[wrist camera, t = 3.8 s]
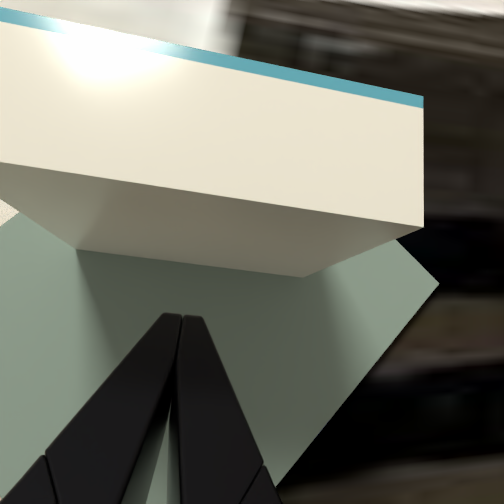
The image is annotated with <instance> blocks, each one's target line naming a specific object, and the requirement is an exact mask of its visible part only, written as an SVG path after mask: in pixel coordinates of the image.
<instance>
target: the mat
mask: <svg viewBox="0 0 504 504" xmlns="http://www.w3.org/2000/svg"><path fill="white" fill-rule="evenodd" d="M438 284H439V283H438V282H437V281H436V280H435V279H434V278H433V277H432V276H431V275H430V274H429V273H428V272H427V271H426V270H425V269H424V268H423V267H422V266H421V265H420V264H419V263H418V262H417V261H416V260H415V259H414V258H413V257H412V256H411V255H410V254H409V253H408V252H407V251H406V250H405V249H404V248H403V247H402V246H401V245H400V244H399V243H398V242H397V241H396V240H395V239H394V240H392V241H389V242H387V243H384V244H382V245H380V246H377V247H375V248H373V249H370V250H368V251H365V252H363V253H361V254H358V255H356V256H353V257H351V258H349V259H346V260H344V261H341V262H339V263H337V264H334V265H332V266H329V267H327V268H325V269H322V270H320V271H317V272H315V273H313V274H310V275H308V276H306V277H303V278H302V277H294V276H286V275H278V274H270V273H262V272H254V271H246V270H238V269H230V268H222V267H214V266H206V265H198V264H190V263H182V262H174V261H166V260H158V259H150V258H142V257H134V256H126V255H118V254H110V253H102V252H94V251H86V250H78V249H75V248H73V247H72V246H70V245H69V244H67V243H66V242H64V241H63V240H61V239H60V238H58V237H57V236H55V235H54V234H52V233H51V232H49V231H48V230H46V229H45V228H43V227H42V226H40V225H39V224H37V223H36V222H34V221H33V220H31V219H30V218H28V217H27V216H25V215H24V214H22V213H21V212H19V213H18V214H16V215H15V216H14V217H12V218H11V219H10V220H8V221H7V222H6V223H4V224H3V225H2V226H0V497H1V498H2V499H3V497H4V496H5V495H6V494H7V493H8V492H9V491H10V490H11V489H12V487H13V486H14V485H15V484H16V483H17V482H18V481H19V480H20V479H21V477H22V476H23V475H24V474H25V473H26V472H27V470H28V469H29V468H30V467H31V466H32V464H33V463H34V462H35V461H36V460H37V459H38V457H39V456H40V455H45V450H46V448H47V447H48V446H49V445H50V444H51V443H52V441H53V440H54V439H55V438H56V437H57V436H58V434H59V433H60V432H61V431H62V430H63V428H64V427H65V426H66V425H67V424H68V423H69V421H70V420H71V419H72V418H73V417H74V416H75V414H76V413H77V412H78V411H79V410H80V409H81V407H82V406H83V405H84V404H85V403H86V402H87V400H88V399H89V398H90V397H91V396H92V395H93V393H94V392H95V391H96V390H97V389H98V387H99V386H100V385H101V384H102V383H103V382H104V380H105V379H106V378H107V377H108V376H109V375H110V373H111V372H112V371H113V370H114V369H115V368H116V366H117V365H118V364H119V363H120V362H121V361H122V359H123V358H124V357H125V356H126V355H127V354H128V352H129V351H130V350H131V349H132V348H133V347H134V345H135V344H136V343H137V342H138V341H139V339H140V338H141V337H142V336H143V335H144V334H145V332H146V331H147V330H148V329H149V328H150V327H151V325H152V324H153V323H154V322H155V321H156V320H157V318H158V317H159V316H160V315H161V314H162V313H164V312H169V313H179V314H181V315H182V319H183V316H184V315H186V314H188V315H197V316H202V317H203V318H204V320H205V323H206V325H207V327H208V330H209V332H210V334H211V337H212V339H213V341H214V344H215V346H216V349H217V351H218V353H219V356H220V358H221V360H222V363H223V365H224V368H225V370H226V372H227V375H228V377H229V379H230V382H231V384H232V386H233V389H234V391H235V394H236V396H237V398H238V401H239V403H240V405H241V408H242V410H243V413H244V415H245V417H246V420H247V422H248V424H249V427H250V429H251V431H252V434H253V436H254V439H255V441H256V443H257V446H258V448H259V450H260V453H261V455H262V458H263V460H264V464H263V465H265V466H266V467H267V469H268V471H269V474H270V476H271V478H272V481H273V483H274V485H275V487H276V486H277V484H278V483H279V482H280V481H281V480H282V478H283V477H284V476H285V475H286V473H287V472H288V471H289V470H290V468H291V467H292V466H293V465H294V463H295V462H296V461H297V460H298V458H299V457H300V456H301V455H302V453H303V452H304V451H305V450H306V448H307V447H308V446H309V445H310V443H311V442H312V441H313V440H314V438H315V437H316V436H317V435H318V434H319V432H320V431H321V430H322V429H323V427H324V426H325V425H326V424H327V422H328V421H329V420H330V419H331V417H332V416H333V415H334V414H335V412H336V411H337V410H338V409H339V407H340V406H341V405H342V404H343V402H344V401H345V400H346V399H347V397H348V396H349V395H350V394H351V392H352V391H353V390H354V389H355V388H356V386H357V385H358V384H359V383H360V381H361V380H362V379H363V378H364V376H365V375H366V374H367V373H368V371H369V370H370V369H371V368H372V366H373V365H374V364H375V363H376V361H377V360H378V359H379V358H380V356H381V355H382V354H383V353H384V351H385V350H386V349H387V348H388V346H389V345H390V344H391V343H392V342H393V340H394V339H395V338H396V337H397V335H398V334H399V333H400V332H401V330H402V329H403V328H404V327H405V325H406V324H407V323H408V322H409V320H410V319H411V318H412V317H413V315H414V314H415V313H416V312H417V310H418V309H419V308H420V307H421V305H422V304H423V303H424V302H425V301H426V299H427V298H428V297H429V296H430V294H431V293H432V292H433V291H434V289H435V288H436V287H437V286H438ZM170 407H171V405H170ZM169 415H170V411H169ZM168 428H169V417H168V422H167V426H166V430H165V434H164V438H163V442H162V445H161V449H160V453H159V457H158V460H157V464H156V468H155V471H154V475H153V479H152V482H151V486H150V490H149V494H148V497H147V501H146V504H166V503H167V463H168Z"/></svg>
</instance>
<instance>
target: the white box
mask: <svg viewBox="0 0 504 504" xmlns="http://www.w3.org/2000/svg"><path fill="white" fill-rule="evenodd" d="M0 199H1V200H3V201H4V202H6V203H7V204H9V205H10V206H12V207H13V208H15V209H16V210H18V211H19V212H21V213H22V214H24V215H25V216H27V217H28V218H30V219H31V220H33V221H34V222H36V223H37V224H39V225H40V226H42V227H43V228H45V229H46V230H48V231H49V232H51V233H52V234H54V235H55V236H57V237H58V238H60V239H61V240H63V241H64V242H66V243H67V244H69V245H70V246H72V247H73V248H75V249H78V250H86V251H94V252H102V253H110V254H118V255H126V256H134V257H142V258H150V259H158V260H166V261H174V262H182V263H190V264H198V265H206V266H214V267H222V268H230V269H238V270H246V271H254V272H262V273H270V274H278V275H286V276H294V277H302V278H303V277H306V276H308V275H310V274H313V273H315V272H317V271H320V270H322V269H325V268H327V267H329V266H332V265H334V264H337V263H339V262H341V261H344V260H346V259H349V258H351V257H353V256H356V255H358V254H361V253H363V252H365V251H368V250H370V249H373V248H375V247H377V246H380V245H382V244H384V243H387V242H389V241H392V240H394V239H396V238H399V237H401V236H404V235H406V234H408V233H411V232H413V231H416V230H418V229H420V228H423V227H424V199H423V96H419V95H414V94H409V93H404V92H400V91H395V90H390V89H385V88H381V87H376V86H371V85H367V84H362V83H357V82H352V81H348V80H343V79H338V78H333V77H329V76H324V75H319V74H315V73H310V72H305V71H300V70H296V69H291V68H286V67H281V66H277V65H272V64H267V63H263V62H258V61H253V60H248V59H244V58H239V57H234V56H229V55H225V54H220V53H215V52H211V51H206V50H201V49H196V48H192V47H187V46H182V45H177V44H173V43H168V42H163V41H159V40H154V39H149V38H144V37H140V36H135V35H130V34H125V33H121V32H116V31H111V30H107V29H102V28H97V27H92V26H88V25H83V24H78V23H74V22H69V21H64V20H59V19H55V18H50V17H45V16H40V15H36V14H31V13H26V12H22V11H17V10H12V9H7V8H3V7H0Z"/></svg>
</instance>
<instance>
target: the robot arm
mask: <svg viewBox="0 0 504 504" xmlns="http://www.w3.org/2000/svg"><path fill="white" fill-rule="evenodd" d="M170 405H171V407H170ZM169 411H170V415H169ZM168 417H169V428H168V463H167V503H166V504H283V503H282V501H281V499H280V497H279V494H278V492H277V490H276V488H275V485H274V483H273V481H272V478H271V476H270V474H269V471H268V469H267V467H266V466H265V465H263V464H264V460H263V458H262V455H261V453H260V450H259V448H258V446H257V443H256V441H255V439H254V436H253V434H252V431H251V429H250V427H249V424H248V422H247V420H246V417H245V415H244V413H243V410H242V408H241V405H240V403H239V401H238V398H237V396H236V394H235V391H234V389H233V386H232V384H231V382H230V379H229V377H228V375H227V372H226V370H225V368H224V365H223V363H222V360H221V358H220V356H219V353H218V351H217V349H216V346H215V344H214V341H213V339H212V337H211V334H210V332H209V330H208V327H207V325H206V323H205V320H204V318H203V317H202V316H197V315H188V314H186V315H184V316H183V319H182V315H181V314H179V313H169V312H164V313H162V314H161V315H160V316H159V317H158V318H157V320H156V321H155V322H154V323H153V324H152V325H151V327H150V328H149V329H148V330H147V331H146V332H145V334H144V335H143V336H142V337H141V338H140V339H139V341H138V342H137V343H136V344H135V345H134V347H133V348H132V349H131V350H130V351H129V352H128V354H127V355H126V356H125V357H124V358H123V359H122V361H121V362H120V363H119V364H118V365H117V366H116V368H115V369H114V370H113V371H112V372H111V373H110V375H109V376H108V377H107V378H106V379H105V380H104V382H103V383H102V384H101V385H100V386H99V387H98V389H97V390H96V391H95V392H94V393H93V395H92V396H91V397H90V398H89V399H88V400H87V402H86V403H85V404H84V405H83V406H82V407H81V409H80V410H79V411H78V412H77V413H76V414H75V416H74V417H73V418H72V419H71V420H70V421H69V423H68V424H67V425H66V426H65V427H64V428H63V430H62V431H61V432H60V433H59V434H58V436H57V437H56V438H55V439H54V440H53V441H52V443H51V444H50V445H49V446H48V447H47V448H46V450H45V455H40V456H39V457H38V459H37V460H36V461H35V462H34V463H33V464H32V466H31V467H30V468H29V469H28V470H27V472H26V473H25V474H24V475H23V476H22V477H21V479H20V480H19V481H18V482H17V483H16V484H15V485H14V486H13V487H12V489H11V490H10V491H9V492H8V493H7V494H6V495H5V496H4V497H3V499H2V500H1V501H0V504H146V501H147V497H148V494H149V490H150V486H151V482H152V479H153V475H154V471H155V468H156V464H157V460H158V457H159V453H160V449H161V445H162V442H163V438H164V434H165V430H166V426H167V422H168Z"/></svg>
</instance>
